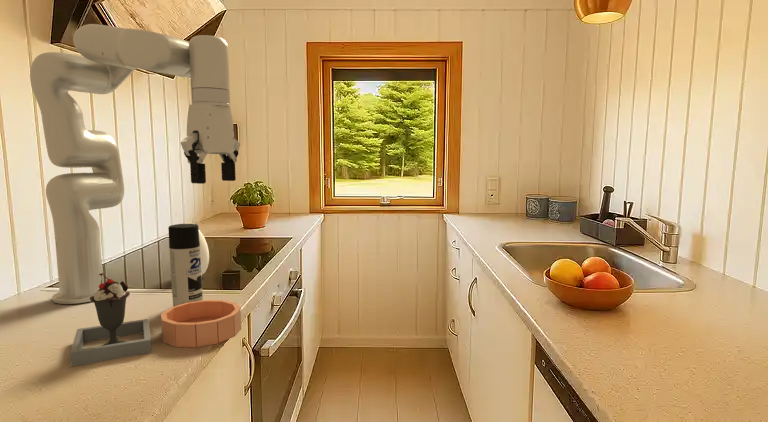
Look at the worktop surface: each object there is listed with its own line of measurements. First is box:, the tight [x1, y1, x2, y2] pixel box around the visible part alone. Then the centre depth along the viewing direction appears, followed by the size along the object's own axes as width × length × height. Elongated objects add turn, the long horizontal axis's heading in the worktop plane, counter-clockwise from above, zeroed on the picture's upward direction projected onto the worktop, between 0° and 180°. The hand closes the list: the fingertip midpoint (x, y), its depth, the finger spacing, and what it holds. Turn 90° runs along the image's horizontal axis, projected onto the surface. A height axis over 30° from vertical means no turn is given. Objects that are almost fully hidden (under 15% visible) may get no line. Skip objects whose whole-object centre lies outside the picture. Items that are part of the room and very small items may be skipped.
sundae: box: [90, 272, 131, 346], centre depth 89 cm, size 7×7×15 cm
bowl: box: [160, 299, 242, 348], centre depth 97 cm, size 15×15×4 cm
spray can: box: [167, 223, 204, 307], centre depth 112 cm, size 7×7×20 cm
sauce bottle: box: [192, 217, 210, 276], centre depth 139 cm, size 8×8×18 cm
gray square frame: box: [69, 318, 152, 367], centre depth 90 cm, size 12×12×2 cm
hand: (214, 181), depth 100 cm, fingers open, 9 cm apart
